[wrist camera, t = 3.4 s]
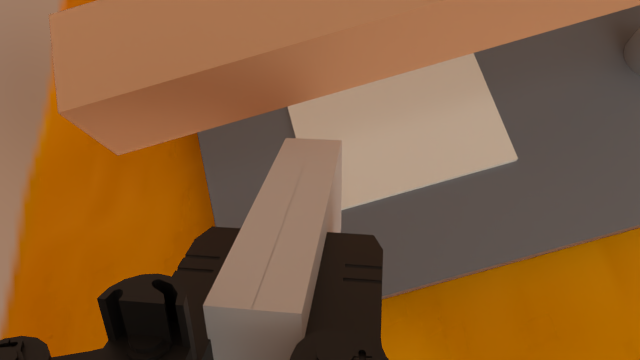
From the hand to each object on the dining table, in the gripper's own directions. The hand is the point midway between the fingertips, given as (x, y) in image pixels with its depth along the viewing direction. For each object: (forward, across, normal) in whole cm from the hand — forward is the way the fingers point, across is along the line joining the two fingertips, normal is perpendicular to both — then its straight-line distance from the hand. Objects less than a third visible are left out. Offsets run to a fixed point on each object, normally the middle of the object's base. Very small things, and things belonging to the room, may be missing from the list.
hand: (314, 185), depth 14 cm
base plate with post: (+11, +4, -3) cm, 12 cm away
